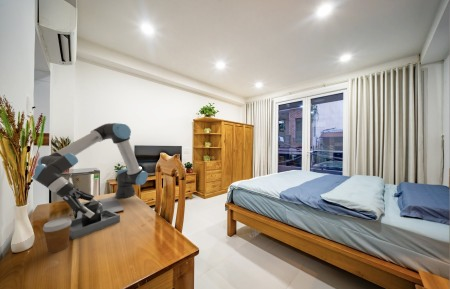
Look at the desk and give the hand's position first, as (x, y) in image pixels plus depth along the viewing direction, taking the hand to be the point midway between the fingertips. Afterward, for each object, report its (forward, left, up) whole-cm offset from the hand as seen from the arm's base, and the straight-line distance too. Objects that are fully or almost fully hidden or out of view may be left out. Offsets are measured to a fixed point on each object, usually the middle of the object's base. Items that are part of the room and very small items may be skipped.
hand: (96, 210), depth 99 cm
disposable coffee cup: (+19, +10, -8) cm, 23 cm away
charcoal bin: (+2, -1, -8) cm, 9 cm away
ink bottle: (+2, -1, -7) cm, 8 cm away
